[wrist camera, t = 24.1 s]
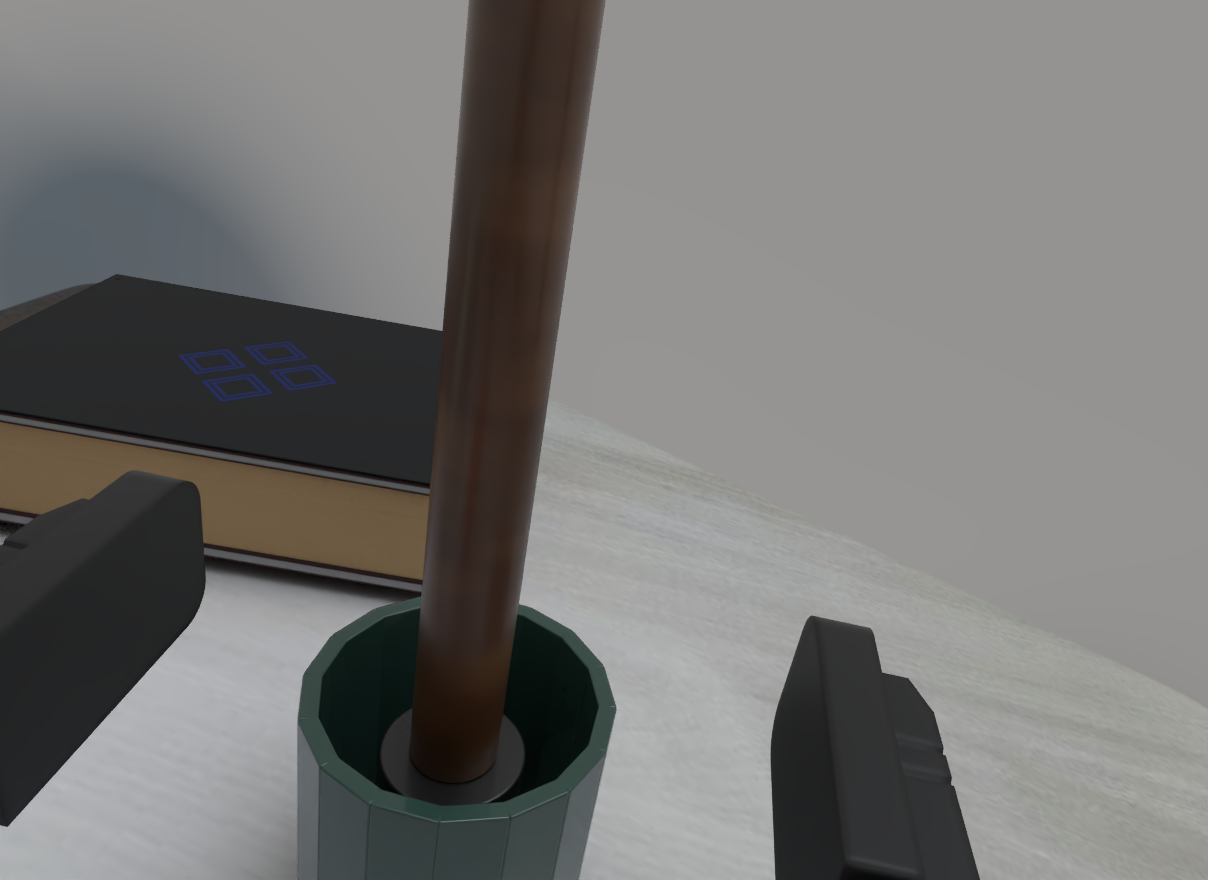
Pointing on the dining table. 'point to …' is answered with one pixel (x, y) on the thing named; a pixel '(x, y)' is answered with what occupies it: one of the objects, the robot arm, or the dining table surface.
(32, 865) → the dining table surface
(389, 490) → the book
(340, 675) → the green faceted cup
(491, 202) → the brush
